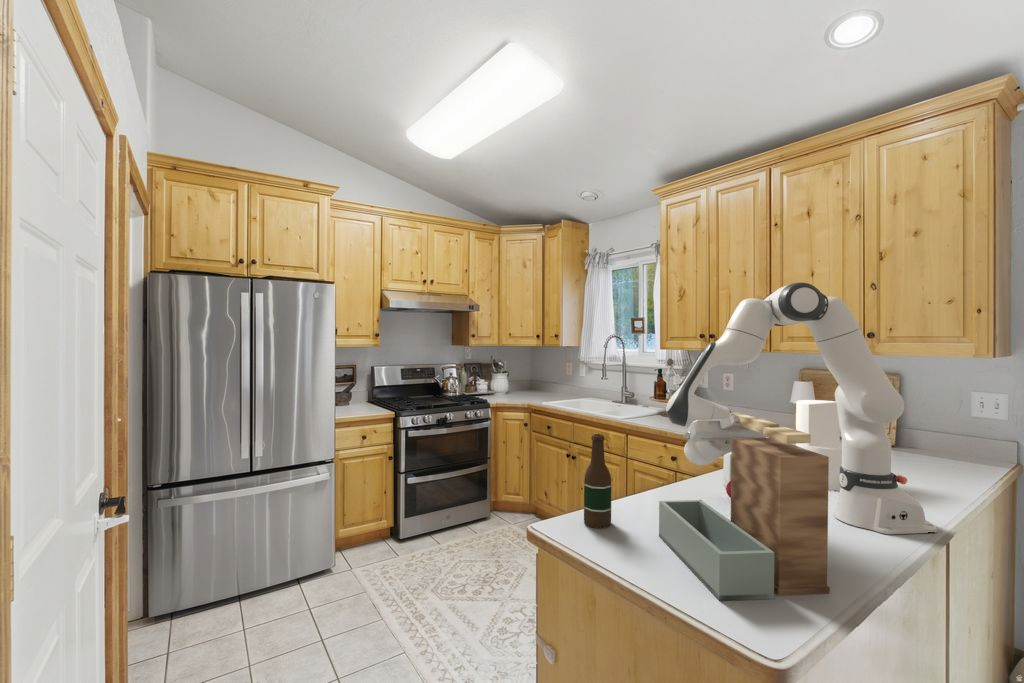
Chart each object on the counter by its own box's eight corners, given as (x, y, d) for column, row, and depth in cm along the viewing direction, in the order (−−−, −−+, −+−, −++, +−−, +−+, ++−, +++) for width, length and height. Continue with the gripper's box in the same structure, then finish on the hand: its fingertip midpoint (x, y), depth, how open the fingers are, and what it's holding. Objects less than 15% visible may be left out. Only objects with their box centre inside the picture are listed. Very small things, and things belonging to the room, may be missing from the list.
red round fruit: (749, 506, 145) (749, 479, 145) (728, 504, 146) (728, 478, 146) (743, 499, 150) (744, 474, 150) (724, 498, 152) (724, 473, 151)
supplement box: (729, 492, 157) (729, 453, 157) (722, 485, 165) (723, 448, 165) (753, 493, 156) (753, 454, 156) (745, 486, 164) (746, 449, 164)
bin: (658, 536, 122) (659, 500, 122) (700, 535, 123) (701, 500, 123) (719, 600, 92) (719, 554, 92) (773, 598, 93) (774, 552, 93)
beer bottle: (605, 531, 125) (606, 439, 125) (578, 525, 129) (578, 435, 129) (616, 521, 132) (616, 434, 131) (589, 516, 136) (590, 431, 136)
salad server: (724, 422, 120) (724, 413, 120) (743, 422, 121) (743, 412, 121) (787, 443, 97) (787, 431, 97) (810, 443, 97) (810, 431, 97)
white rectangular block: (784, 479, 173) (785, 401, 172) (815, 473, 180) (816, 398, 180) (833, 493, 157) (835, 407, 157) (865, 487, 164) (866, 405, 164)
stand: (728, 552, 113) (729, 437, 113) (771, 551, 114) (772, 437, 113) (778, 595, 94) (780, 457, 94) (829, 593, 95) (831, 457, 95)
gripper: (678, 426, 129) (699, 407, 117) (751, 424, 131) (779, 405, 119) (683, 449, 126) (705, 432, 114) (758, 447, 128) (787, 430, 116)
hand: (743, 418), depth 116 cm, fingers closed on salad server, 2 cm apart
